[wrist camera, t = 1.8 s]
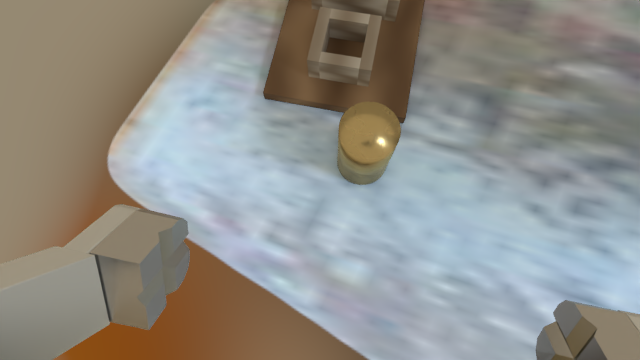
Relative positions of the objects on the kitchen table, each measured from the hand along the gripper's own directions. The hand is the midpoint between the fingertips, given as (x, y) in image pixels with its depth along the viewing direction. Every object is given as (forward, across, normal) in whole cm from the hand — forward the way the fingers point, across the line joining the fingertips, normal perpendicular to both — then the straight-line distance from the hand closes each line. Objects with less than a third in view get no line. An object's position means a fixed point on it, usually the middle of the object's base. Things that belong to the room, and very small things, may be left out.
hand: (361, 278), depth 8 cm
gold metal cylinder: (+28, 0, +10) cm, 30 cm away
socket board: (+39, +4, -1) cm, 40 cm away
